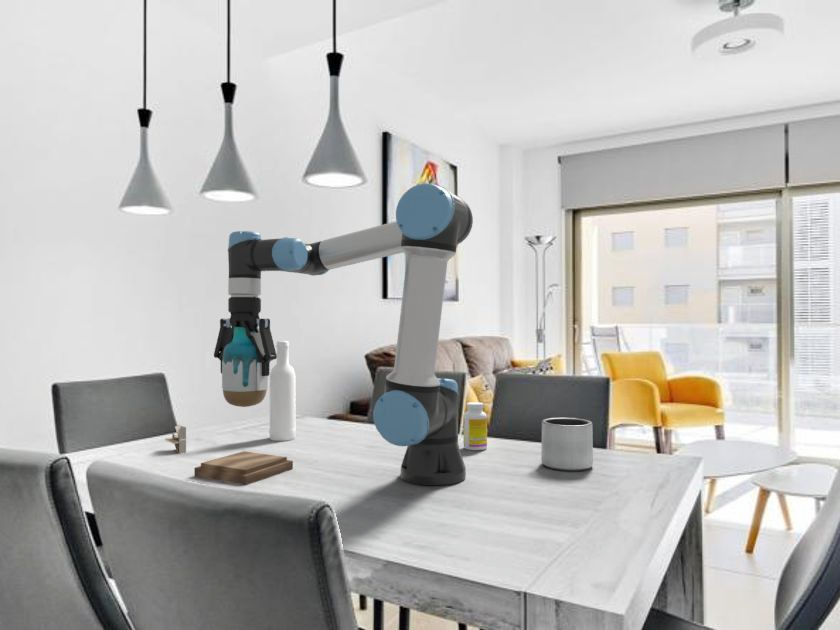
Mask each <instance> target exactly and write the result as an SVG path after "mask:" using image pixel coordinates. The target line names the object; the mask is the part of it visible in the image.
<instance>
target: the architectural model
mask: <svg viewBox="0 0 840 630" xmlns="http://www.w3.org/2000/svg"><path fill="white" fill-rule="evenodd" d="M174 428H175V431H176V436H175V434H174V433H171V434H172V437H168V438H167V437H166V438H164V441H166V442H168V443H171V444H173V445H174V447H175V450H176V452H177V453H179V454H186V453H187V427H186V426H185V425H181V424H177V425H176V426H174Z"/></svg>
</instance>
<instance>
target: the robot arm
mask: <svg viewBox="0 0 840 630" xmlns="http://www.w3.org/2000/svg"><path fill="white" fill-rule="evenodd" d="M473 217H474V216H473V213H472V210H471V207H470V205H469V204H468V203H467V202H466V200H464V199H463V198H461V197H460V196H459V195H455V194H454V193H452V192H451V191H450V190H448V189H447V188H445V187H444V186H442V185H438V184H435V183H427V182H426V183H419V184H415V185H414V186H412V187H410V188H409V189H408V190H406V191H405V193H403V194H402V196H401V197H400V199H399V201H398V202H397V205H396V209H395V220H396V221H392V222H388V223H384V224H381V225H376V226H373V227H369V228H364V229H361V230H357V231H354V232H350V233H347V234H341V235H339V236H335V237H332V238H331V237H330V238H328V239H327V238H326V239H323V240H320V241H316V242H312V243H304V242H303V240H301V239H300V238H297V237H287V236H286V237H282V238H269V239H262V236H261V234H260V233H259V232H256V231H251V230H250V231H248V230H244V231H243V230H239V231H238V230H237V231H233V232H231V233H230V234H229V235H228V248H227V255H228V256H227V257H228V259H227V260H228V285H227V287H228V292H227V293H228V294H227V295H228V296H230V297H228V304H227V305H228V306H227V307H228V309H227V310H228V313H230V317H229V318H220V319H219V331H218V336H217V339H216V344H215V347H214V351H213V357H214V358H216V359H218V360H219V361H220V374H221V375H222V360H223V352H224V348H225V346H226V345H227V344H229V343H230V342H232V340H233V334H234V327H243V328H245V331H246V335H247V337H248V338H250V340H251V342H252V344H253V345H254V346H255V349H256V353H257V355H258V357H259V361H258V362H259V363H257V391H261V390H268V380H269V379H268V378H269V377H270V363H271V361H273V360H277V350H276V348H275V347H276V346H275V344H274V340H273V335H272V332H271V319H270V318H260V313H261V311H262V299H261V298H260V297H259V296H260V295H262V292H261V291H262V289H261V288H262V284H261V283H262V282H261V280H262V272H287V273H294V274H296V273H297V274H301V275H302V274H303V275H309V276H313V277H314V276H322V275H325V274H327V273H328V272H329V271H330V270H334V269H339V268H342V267H346V266H351V265H356V264H360V263H364V262H368V261H373V260H377V259H381V258H385V257H390V256H394V255H398V254H403V253H404V255H405V256H406V263H405V272H404V281H403V288H402V298H401V307H400V316H399V324H398V333H397V341H396V350H395V357H394V358H395V360H394V366H393V370H392V371H391V372H390V373H388V374H387V375H386V377H385V383H384V391H383V394H382V395H381V396H380V397H379V398H378V399H377V400H376V402H375V404H374V408H373V412H372V414H373V415H372V416H373V418H372V419H373V423H374V426H375V428H376V430H377V432H378V433H379V435H380V436H381V437H382V438H383V439H384V440H385V441H386V442H388V443H389V444H391V445H394V446H397V447H406V449H405V452H404V456H403V458H402V462H401V465H400V478H401V479H402V480H403V481H404V482H406V483H410V484H415V485H422V486H446V485H453V484H457V483H460V482H463V481H464V480H465V479H466V473H467V470H466V464H465V462H464V459H463V456H462V453H461V452H462V451H461V449H460V445H459V396H460V394H459V389H458V387H459V385H458V382H457V381H456V380H455V379H452V378H451V379H450V378H438V377H437V376H436V371H435V370H436V364H437V353H438V346H439V337H440V330H441V329H440V328H441V322H442V321H441V320H442V314H443V313H442V311H443V302H444V294H445V288H446V287H445V285H446V278H447V268H448V262H449V260H451V259H452V258H453V257H455V255H457V254H456V253H457V248H458V245H459V244H461V243H463V242H464V241H465V240H466V239H467V238H468V236H469V235H470V233H471V232H472V228H473V223H474V221H473V220H474V218H473ZM252 331H256V333H252ZM221 388H222V389H223V387H222V386H221Z"/></svg>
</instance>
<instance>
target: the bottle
mask: <svg viewBox="0 0 840 630" xmlns="http://www.w3.org/2000/svg"><path fill="white" fill-rule="evenodd" d="M275 347H276V355H277V358H276V364H275V365H274V366H273V367H272V368H271V370H270V372H269V432H268V433H269V439H270V441H274V442H284V441H285V442H286V441H292V440H295V439H296V437H297V435H296V434H297V425H296V421H297V419H296V417H297V415H296V412H297V411H296V405H297V404H296V403H297V402H296V401H297V400H296V398H297V395H296V391H297V388H296V387H297V386H296V385H297V381H296V380H297V377H296V372H295V371H296V370H295V369H294V367H293V366H292V365H291V364H290V362H289V361H290V354H289V353H290V350H289V349H290V342H289V341H288V340H277V341H276V346H275Z"/></svg>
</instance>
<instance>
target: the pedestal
mask: <svg viewBox="0 0 840 630" xmlns="http://www.w3.org/2000/svg"><path fill="white" fill-rule="evenodd" d="M293 461H294V460H289V459H288V457H287V456H281V455H273V454H267V453H259V452H252V451H245V450H244V451H241V452H236V453H233V454H230V455H226V456H223V457H218V458H215V459H211V460H207V461H204V462H201V463H200V466H197V467H194V477H196V478H203V479H209V480H214V481H219V482H220V481H221V482H226V483H233V484H237V485H243V486H248V485H250V484H254V483H256V482H259V481H262V480H265V479H268V478H271V477H273V476H276V475H279V474H282V473H285V472H287V471H291V470H293V469H294V467H293V465H294V462H293Z"/></svg>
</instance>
